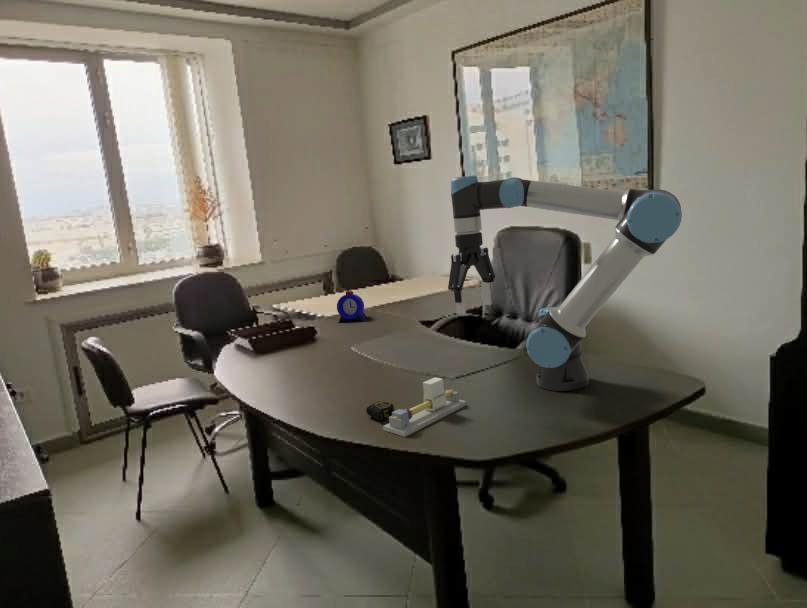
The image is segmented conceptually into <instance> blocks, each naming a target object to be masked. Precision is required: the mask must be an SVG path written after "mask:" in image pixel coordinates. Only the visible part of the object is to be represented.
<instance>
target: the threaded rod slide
mask: <svg viewBox="0 0 807 608" xmlns="http://www.w3.org/2000/svg"><path fill="white" fill-rule="evenodd" d="M444 393H445V395H446V405H447V406H445V407H443V408H441V409H439V410H437V411H435V412H434V411H430V410H426V409H427V408H429V407H431V406H432V400H428V401H426V402H424V401H423V403H420V404H417V405H416V406H414V407H411V408H404V409H401V408H398V409H396V410H394V412H392V416H390V417H389V418H388V421H389V423H387V424H384V425H382V429H383V432H384V431H385V432H388V433H391V434H395V435H398V436H400V437H403V438H405V437H408V436H409V435H412V434H414V433H415V432H417V431H419V430H421V429H423V428H426V427H427V426H429V425H431V424H433V423H434V422H437V421H439V420H441V419H442V418H444V417H446V416H448V415H450V414H452V413H455V412H456V411H458V410H460V409H462V408H464V407H466V406H467V400H462V399H460V393H459V392H458V391H455V390H453V389H446V390H445V389H444Z"/></svg>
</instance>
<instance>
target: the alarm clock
mask: <svg viewBox="0 0 807 608" xmlns="http://www.w3.org/2000/svg"><path fill="white" fill-rule="evenodd" d="M364 302H365V301H364V300H363V299H362V297H360V295H358V294H354V292H353V291H352V290H348V291H345V294H344V295H342V296H340V298H339V299H338V301H337V304H336V310H337V311H336V312H337V313H338V315H339V316H340V317H339V320H338V324H339V323H341V322H344V321H346V320H352V319H355V320H357V321H360V322H363V321H364V320H365V319H367V315H366V314H365V313H364V310H365V303H364Z"/></svg>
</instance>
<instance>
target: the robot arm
mask: <svg viewBox="0 0 807 608" xmlns="http://www.w3.org/2000/svg"><path fill="white" fill-rule="evenodd" d="M450 196H451V203H452V205H451V206H452V213H453V214H452V215H453V223H454V224H453V225H454V233H456V234H455V235H454V241H455V247H456V248H457V249H458V252H457V254H456V253H455V254H454V253H452V254H451V255H450V259H451V260H450V261H451V262H450V269H449V270H450V271H449V279H448V284H447V285H448V286H447V289H448V291H451V292H453V294H454V295H453V296H454V302H455V307H456V314H459V315H466V314H467V310H466V309H467V307H466V298H465V297H466V295H465V290H463V287H464V283H465V281H466V279H467V274H468V271H469V270H470V269H471V267H472V266H473V267H474V268H475V270H476V272H477V274H478V275H479V277H480V279H481V280H482V282H480V286H481V287H480V288H481V289H480V290H481V299H482V300H481V301H482V305H483V306H485V305H486V306H492V305H493V304H492V286H491V285H492V284H491V283H493V282H494V281H495V279H496V275H495V271H494V267H493V265H492V262H491V258H490V256H489V248H488V247H481V246H482V245H483V244H484V243H483V242H484V241H483V233H482V232H481V230H483V229H482V217H481V211H483V210H495V209H496V210H497V209H512V208H518V207H526V208H533V209H541V210H545V211H546V210H547V211H553V212H560V213H561V212H562V213H567V214H573V215H581V216H586V217H587V216H588V217H594V218H601V219H602V218H603V219H607V220H608V219H609V220H614V221H618V223H617V224H616V225H615V227H614V232H615V236H614V238H613V239H612V240H611V241H610V242H609V244H608V245H607V246H606V247H605V249H604V250H603V251H602V253H601V254H600V255H599V256H598V257H597V259H596V260H595V261H594V263H593V264H592V265H591V266H590V268H589V269H588V270H587V272H585V274H584V275H583V276H582V278H581V279H580V280H579V281H578V282H577V284H576V285H575V286H574V288H573V289H572V290H571V292H570V293H568V295H567V296H566V298H565V299H564V300H563V302H562V303H561V304H560V305H559V306H552V307H551V306H549V307H542V308H540V309H539V311H538V315H537V318H538V324H537V325H536V326H535V327H534V329H532V331H530V332H529V333H528V336H527V340H526V345H525V346H526V351H527V354H528V357H529V358H530V359H531V360H532V361H533V363H535V364H536V365H539V366H538V369H537V374H536V385H537V386H538V387H540V388H542V389H544V390H548V391H553V392H570V391H577V390H580V389H583V388H585V387H587V386H588V385H589V384H590V377H589V373H588V370H587V367H586V365H585V362H584V360H583V356H582V340H583V339H584V338H585V337H586V335H587V332H586V327H587V325H588V324H589V323H590V322H591V321H592V319H594V317H595V316H596V315H597V314H598V312H599V311H600V310H601V309H602V307H603V306H604V305H605V304H606V302H608V301H609V300H610V298H611V297H612V296H613V294H614V293H615V292H616V291H617V290H618V289H619V287H620V286H621V285H622V284H623V282H624V281H625V280H626V279H627V277H629V275H630V274H631V273H632V272H633V271H634V269H635V268H636V267H637V265H638V264H640V262H641V261H642V259H644V257H647V256H649V257H650V256H654V255H655V254H656V253H657V252H658V250H659V249H660V248H661V247H662V246H663V245H664V243H666V241H667V239H669V238H671V237H672V236H673V235H675V233H676V232H677V230H678V229H679V227H680V225H681V222H682V217H683V214H682V206H681V203H680V201H679V199H678V198H677V196H675V195H674V194H673V193H671V192H669V191H668V190H665V189H633V188H628V189H627V190H625V191H618V190H610V189H604V188H596V187H595V188H594V187H586V186H578V185H572V184H570V185H569V184H563V183H555V182H547V181H538V180H529V179H522V178H520V177H509V178H504V179H497V180H490V181H489V180H488V181H479V180H478V176H477V175H467V176H465V175H464V176H458V177H457V176H456V177H453V178H452V179H451V181H450Z"/></svg>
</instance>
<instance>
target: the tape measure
mask: <svg viewBox="0 0 807 608" xmlns="http://www.w3.org/2000/svg"><path fill="white" fill-rule="evenodd" d="M365 411H366V414H367V415H368V416H370V417H372V418H374V419H376V420H378V421H383V420H385V419H389V417H390V416H392V412H394V411H395V407H394V404H393V403H392V402H391V401H389V400H388V401H387V400H380V401H376V402H374V403H372V404H370V405H369V406H367V407H366V409H365Z"/></svg>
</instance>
